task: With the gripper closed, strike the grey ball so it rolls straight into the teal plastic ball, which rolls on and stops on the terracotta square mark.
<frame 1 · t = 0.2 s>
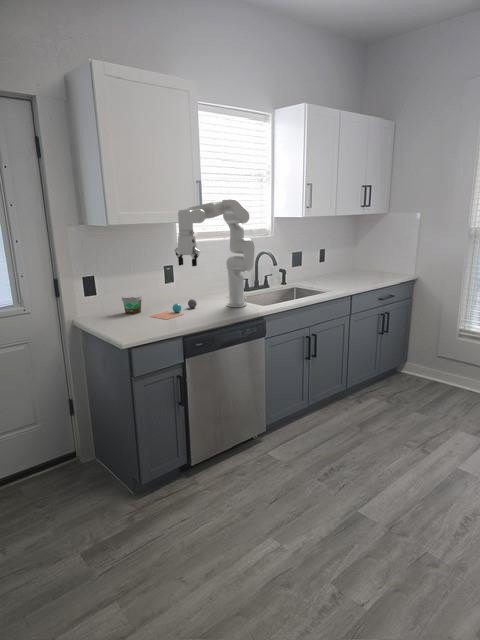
hand: (187, 265, 234), 31 cm above the worktop, tool pointing down, fingers open, 9 cm apart
object ball: (177, 308, 261), on the worktop
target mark: (166, 315, 254), on the worktop
food container: (132, 313, 261), on the worktop
grey ball: (192, 303, 272), on the worktop
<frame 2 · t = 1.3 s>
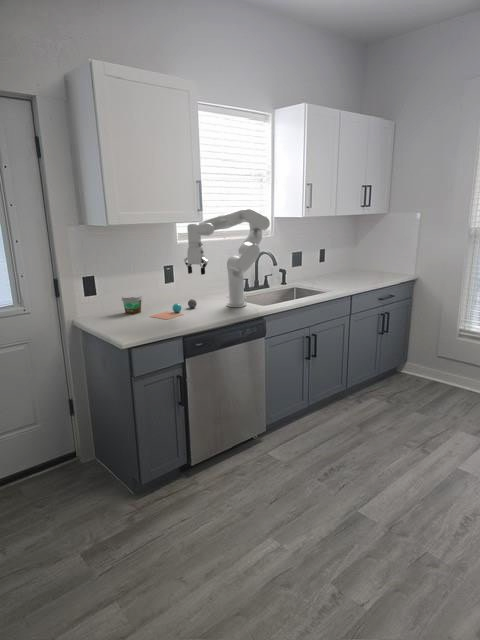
hand: (196, 273, 260), 23 cm above the worktop, tool pointing down, fingers open, 9 cm apart
nothing on the worktop moved.
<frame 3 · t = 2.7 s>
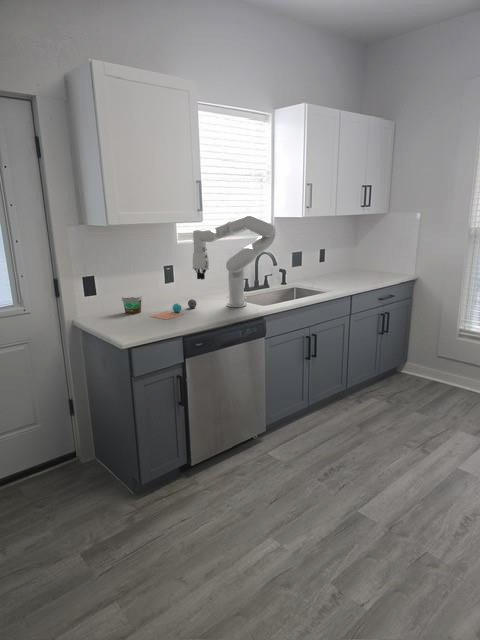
hand: (200, 278, 276), 17 cm above the worktop, tool pointing down, fingers closed
nothing on the worktop moved.
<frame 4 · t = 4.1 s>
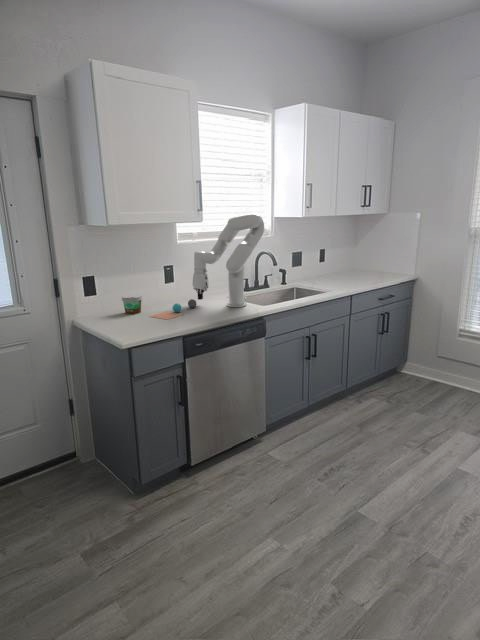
hand: (200, 299, 279), 4 cm above the worktop, tool pointing down, fingers closed
nothing on the worktop moved.
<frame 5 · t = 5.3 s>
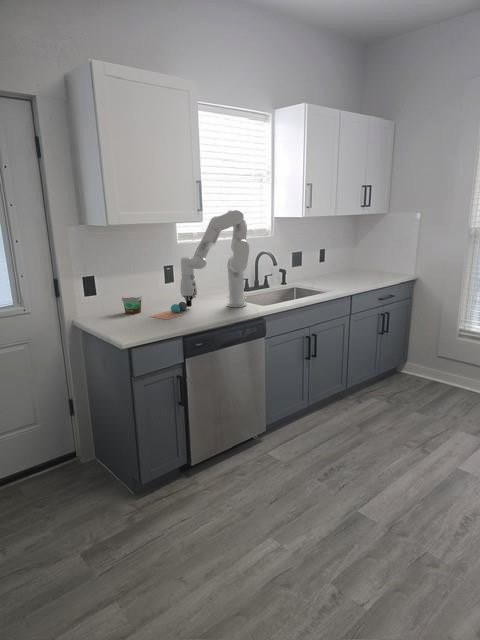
hand: (189, 306, 270), 2 cm above the worktop, tool pointing down, fingers closed
object ball: (175, 308, 259), on the worktop
grey ball: (182, 306, 265), on the worktop
everything else where it was.
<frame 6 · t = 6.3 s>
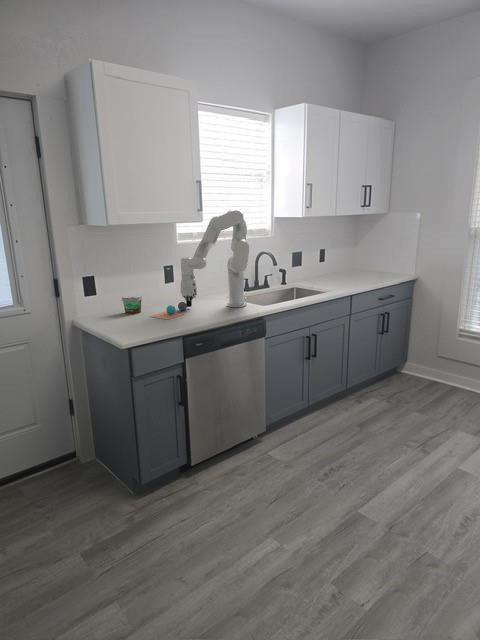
hand: (189, 306, 270), 2 cm above the worktop, tool pointing down, fingers closed
object ball: (170, 309, 256), on the worktop
everything else where it was.
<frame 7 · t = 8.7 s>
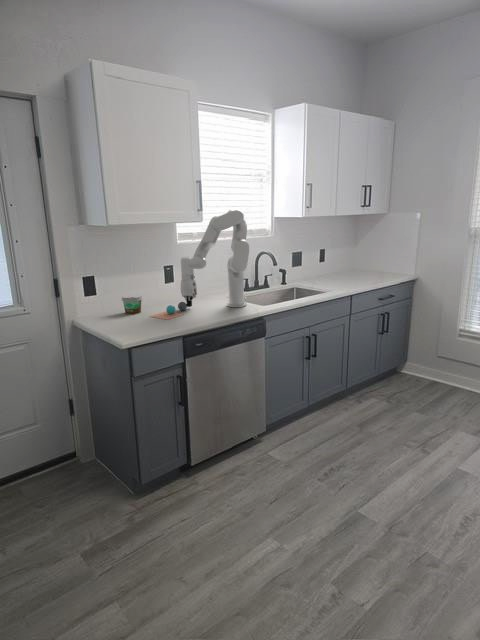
hand: (189, 306, 270), 2 cm above the worktop, tool pointing down, fingers closed
nothing on the worktop moved.
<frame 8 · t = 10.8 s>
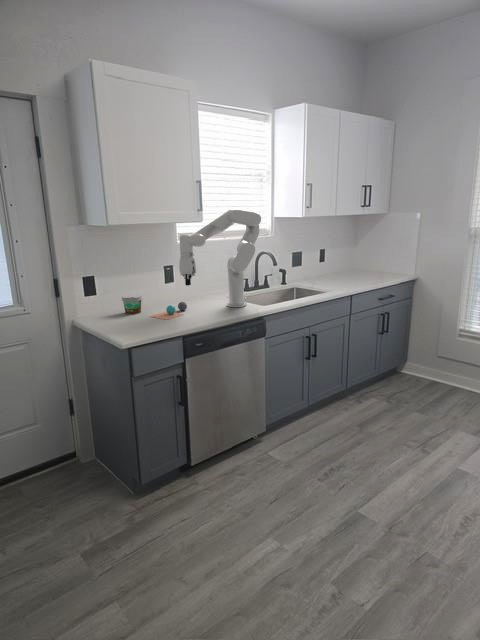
hand: (188, 285, 266), 15 cm above the worktop, tool pointing down, fingers closed
nothing on the worktop moved.
at the end: object ball 3.7 cm from the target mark (horizontally); object ball never touched the robot; grey ball first touched object ball at 5.1 s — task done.
